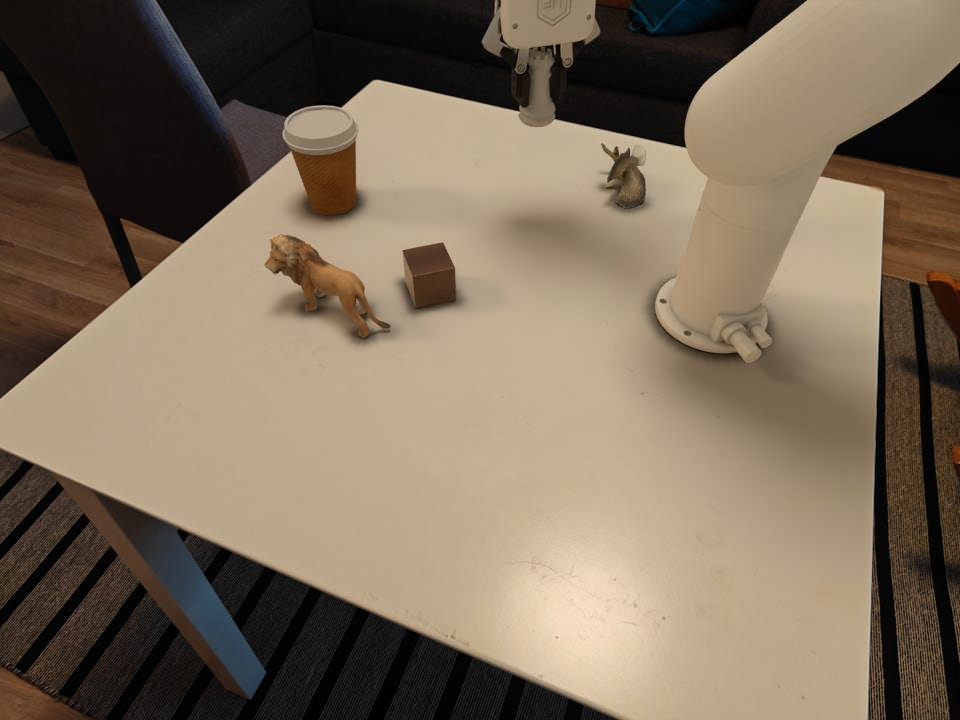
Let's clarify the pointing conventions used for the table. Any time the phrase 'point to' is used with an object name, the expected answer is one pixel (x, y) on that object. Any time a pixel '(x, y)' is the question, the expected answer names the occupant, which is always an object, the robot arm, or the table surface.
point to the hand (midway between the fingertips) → (538, 98)
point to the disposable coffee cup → (324, 156)
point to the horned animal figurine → (628, 175)
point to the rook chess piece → (539, 90)
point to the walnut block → (429, 275)
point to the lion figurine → (320, 278)
